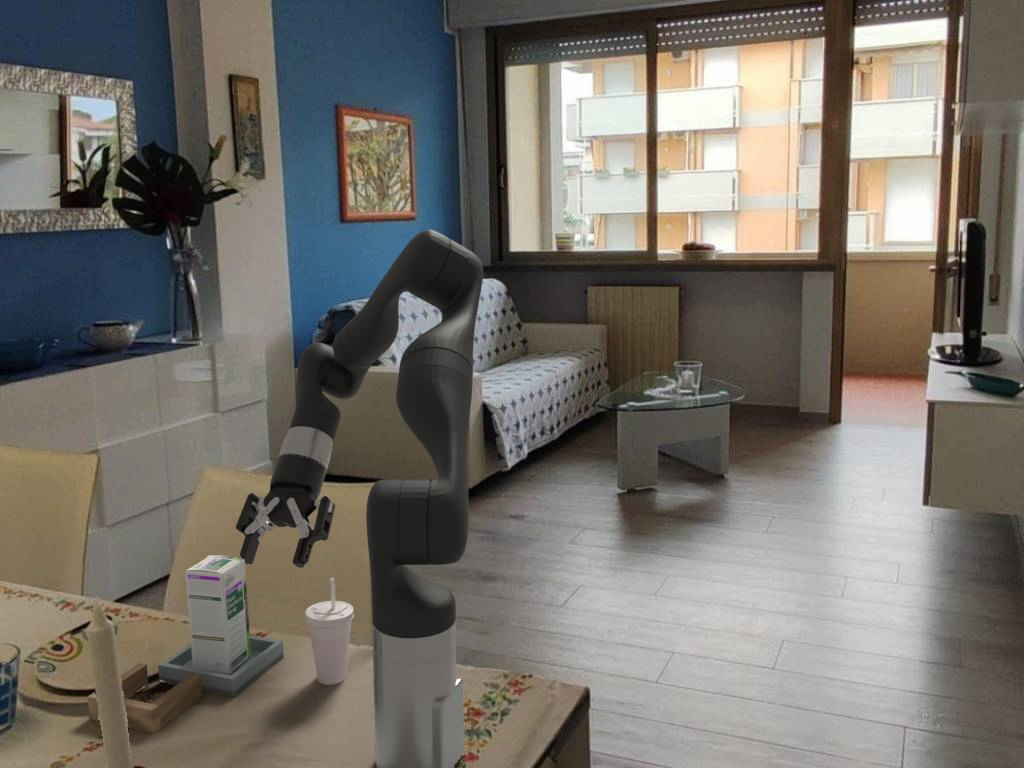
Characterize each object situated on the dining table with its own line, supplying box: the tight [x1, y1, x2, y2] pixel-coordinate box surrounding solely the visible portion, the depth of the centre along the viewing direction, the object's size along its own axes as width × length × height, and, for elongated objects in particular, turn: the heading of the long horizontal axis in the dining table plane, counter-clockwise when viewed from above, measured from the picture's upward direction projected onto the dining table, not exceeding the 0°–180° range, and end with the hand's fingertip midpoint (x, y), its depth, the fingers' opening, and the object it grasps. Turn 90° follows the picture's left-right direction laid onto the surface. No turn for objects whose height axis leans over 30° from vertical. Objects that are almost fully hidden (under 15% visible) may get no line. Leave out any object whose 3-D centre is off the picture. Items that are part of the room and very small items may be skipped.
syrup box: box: [184, 554, 251, 675], centre depth 130 cm, size 6×6×14 cm
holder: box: [87, 662, 203, 734], centre depth 122 cm, size 10×9×3 cm
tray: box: [157, 634, 285, 698], centre depth 131 cm, size 12×12×2 cm
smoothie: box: [304, 577, 355, 686], centre depth 128 cm, size 6×6×14 cm
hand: (271, 564), depth 139 cm, fingers open, 8 cm apart
